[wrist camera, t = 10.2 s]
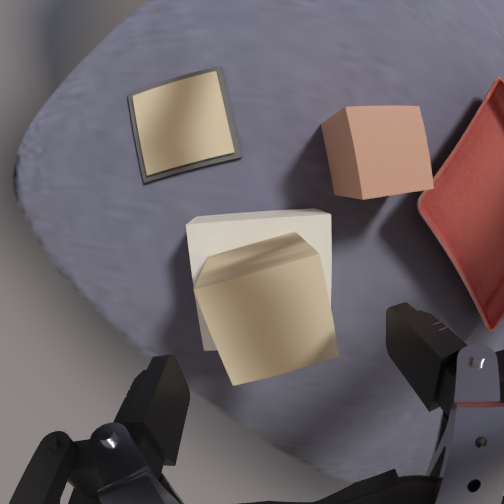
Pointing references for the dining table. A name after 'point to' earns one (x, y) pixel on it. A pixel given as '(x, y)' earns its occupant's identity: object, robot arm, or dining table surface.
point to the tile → (183, 124)
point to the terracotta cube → (377, 151)
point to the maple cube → (267, 308)
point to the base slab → (254, 241)
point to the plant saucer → (474, 206)
